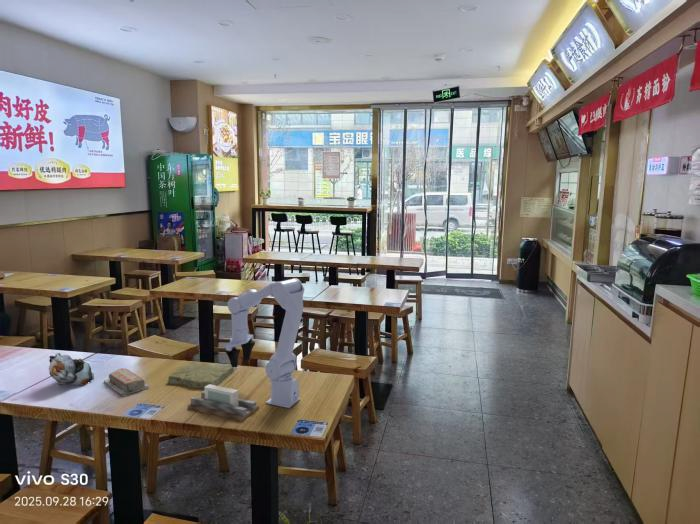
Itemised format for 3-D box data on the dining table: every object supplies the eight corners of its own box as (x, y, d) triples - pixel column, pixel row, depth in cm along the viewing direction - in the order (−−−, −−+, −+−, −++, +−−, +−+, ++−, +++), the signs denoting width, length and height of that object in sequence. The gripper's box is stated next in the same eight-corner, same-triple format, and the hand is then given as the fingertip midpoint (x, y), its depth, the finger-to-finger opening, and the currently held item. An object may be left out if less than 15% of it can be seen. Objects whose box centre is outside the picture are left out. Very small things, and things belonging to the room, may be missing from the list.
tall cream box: (238, 406, 160) (238, 390, 159) (233, 410, 158) (233, 393, 157) (210, 400, 165) (209, 384, 164) (204, 403, 162) (204, 387, 162)
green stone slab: (190, 368, 198) (189, 360, 198) (234, 372, 194) (234, 364, 194) (164, 386, 180) (163, 377, 180) (212, 391, 176) (212, 382, 176)
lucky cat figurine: (96, 383, 180) (78, 358, 172) (64, 400, 176) (43, 376, 168) (91, 361, 191) (73, 337, 183) (60, 377, 187) (40, 353, 179)
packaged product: (149, 376, 176) (122, 384, 169) (150, 389, 177) (123, 397, 170) (129, 364, 188) (102, 371, 181) (130, 376, 189) (103, 383, 182)
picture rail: (258, 408, 162) (258, 400, 161) (241, 421, 152) (241, 412, 152) (207, 396, 170) (206, 389, 170) (187, 408, 161) (187, 400, 160)
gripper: (242, 322, 183) (243, 355, 185) (218, 332, 170) (219, 368, 172) (257, 324, 181) (258, 358, 183) (234, 334, 167) (235, 371, 169)
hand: (240, 363), depth 177 cm, fingers open, 7 cm apart
